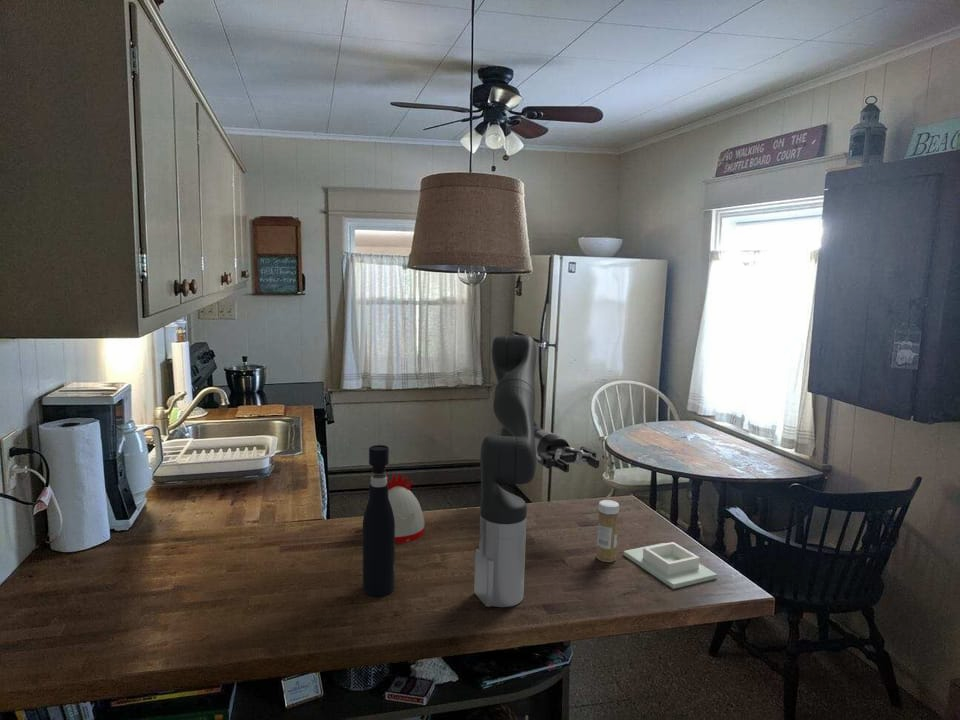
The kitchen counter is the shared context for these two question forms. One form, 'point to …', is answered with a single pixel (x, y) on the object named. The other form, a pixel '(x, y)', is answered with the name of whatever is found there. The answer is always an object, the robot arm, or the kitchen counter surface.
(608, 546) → the spice jar
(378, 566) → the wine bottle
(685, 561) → the socket board
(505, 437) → the robot arm
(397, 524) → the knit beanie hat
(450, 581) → the kitchen counter surface
